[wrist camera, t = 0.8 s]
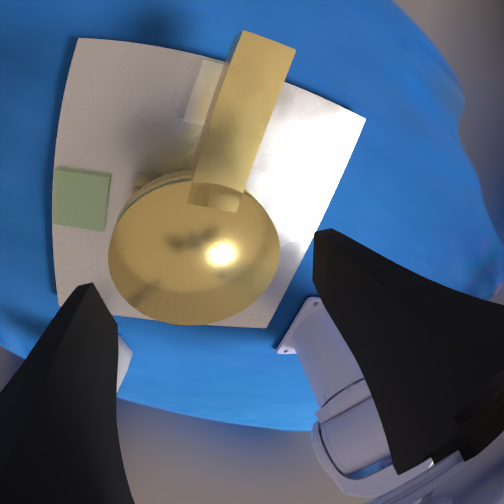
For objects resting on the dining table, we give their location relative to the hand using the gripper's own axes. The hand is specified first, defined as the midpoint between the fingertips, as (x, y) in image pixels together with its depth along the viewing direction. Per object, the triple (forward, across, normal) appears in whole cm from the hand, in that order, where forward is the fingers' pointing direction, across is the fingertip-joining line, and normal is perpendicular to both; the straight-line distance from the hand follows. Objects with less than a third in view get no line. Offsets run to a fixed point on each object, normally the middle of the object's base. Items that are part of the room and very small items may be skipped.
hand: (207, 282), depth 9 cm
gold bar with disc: (+9, -1, 0) cm, 9 cm away
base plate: (+10, +1, +2) cm, 11 cm away
